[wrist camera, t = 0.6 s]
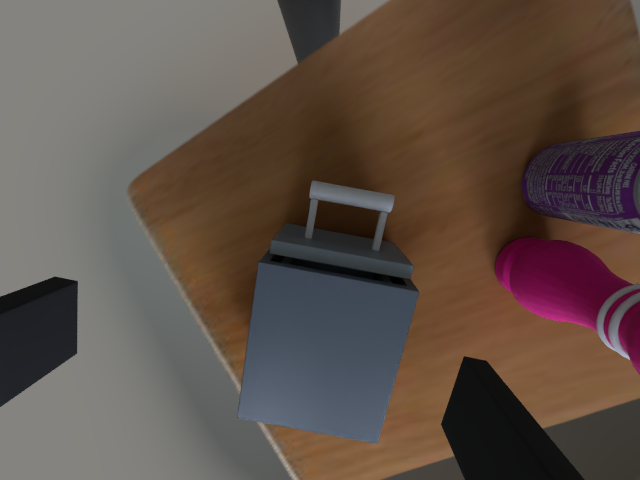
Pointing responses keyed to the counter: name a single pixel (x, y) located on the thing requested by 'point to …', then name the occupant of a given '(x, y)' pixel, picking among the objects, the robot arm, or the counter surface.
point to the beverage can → (588, 181)
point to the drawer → (343, 239)
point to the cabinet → (323, 349)
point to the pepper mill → (573, 290)
